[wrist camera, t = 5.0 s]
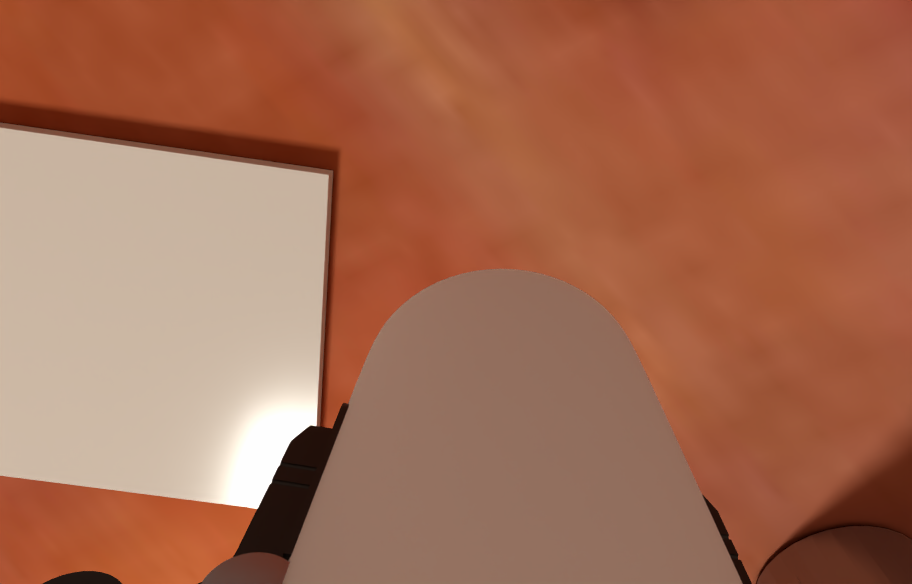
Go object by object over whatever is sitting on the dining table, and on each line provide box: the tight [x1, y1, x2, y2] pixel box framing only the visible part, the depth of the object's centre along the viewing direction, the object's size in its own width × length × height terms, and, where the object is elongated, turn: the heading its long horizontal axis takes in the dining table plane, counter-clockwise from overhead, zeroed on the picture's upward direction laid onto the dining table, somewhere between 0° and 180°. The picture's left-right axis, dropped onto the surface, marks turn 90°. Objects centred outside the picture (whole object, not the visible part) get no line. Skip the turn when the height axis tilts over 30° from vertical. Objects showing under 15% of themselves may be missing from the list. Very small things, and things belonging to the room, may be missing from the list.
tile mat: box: [0, 122, 333, 508], centre depth 27 cm, size 18×18×1 cm
